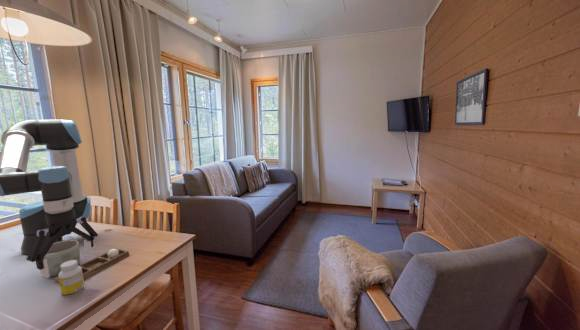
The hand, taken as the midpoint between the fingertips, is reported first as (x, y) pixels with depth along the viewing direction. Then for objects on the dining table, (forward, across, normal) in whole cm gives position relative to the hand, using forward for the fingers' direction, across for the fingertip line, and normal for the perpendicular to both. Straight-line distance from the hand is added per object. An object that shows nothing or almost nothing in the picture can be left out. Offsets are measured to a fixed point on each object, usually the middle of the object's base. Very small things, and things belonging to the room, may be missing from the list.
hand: (69, 265), depth 90 cm
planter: (+11, +8, +20) cm, 24 cm away
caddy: (+10, +13, +8) cm, 19 cm away
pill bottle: (+11, 0, 0) cm, 11 cm away
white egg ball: (+10, +21, +8) cm, 25 cm away
